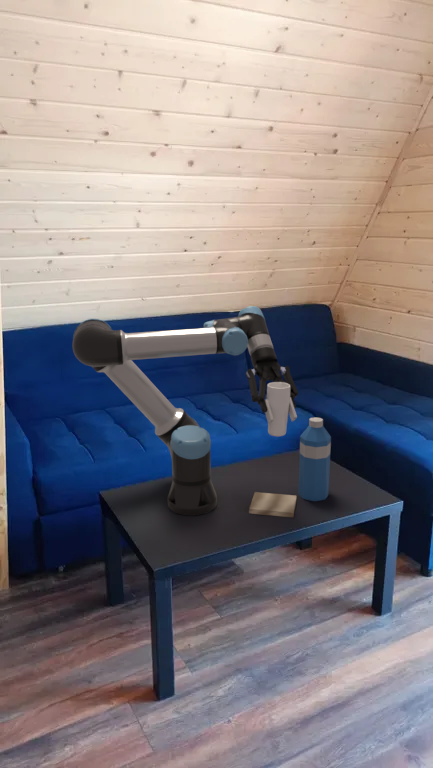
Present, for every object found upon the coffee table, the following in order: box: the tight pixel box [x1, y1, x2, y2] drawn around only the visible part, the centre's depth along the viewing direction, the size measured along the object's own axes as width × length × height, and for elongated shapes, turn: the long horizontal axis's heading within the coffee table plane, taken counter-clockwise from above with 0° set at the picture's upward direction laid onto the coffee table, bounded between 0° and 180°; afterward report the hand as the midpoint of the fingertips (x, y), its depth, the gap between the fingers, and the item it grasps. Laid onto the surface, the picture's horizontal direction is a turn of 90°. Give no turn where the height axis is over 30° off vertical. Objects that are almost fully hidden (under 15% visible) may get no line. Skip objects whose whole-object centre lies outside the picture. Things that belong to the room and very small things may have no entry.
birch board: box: [248, 491, 298, 518], centre depth 176 cm, size 13×11×2 cm
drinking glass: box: [266, 381, 290, 437], centre depth 170 cm, size 7×7×15 cm
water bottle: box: [298, 417, 332, 502], centre depth 180 cm, size 9×9×25 cm
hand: (282, 420), depth 167 cm, fingers closed on drinking glass, 7 cm apart
